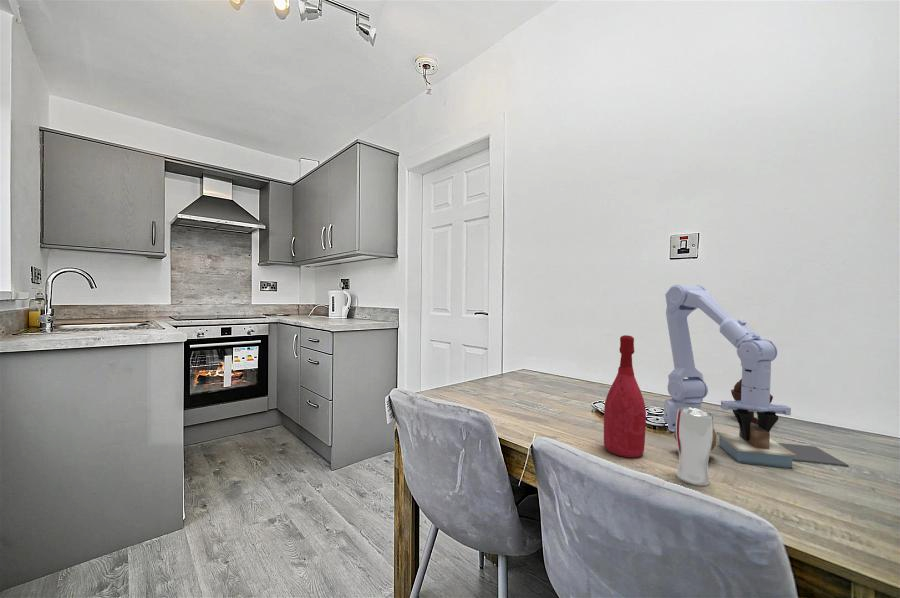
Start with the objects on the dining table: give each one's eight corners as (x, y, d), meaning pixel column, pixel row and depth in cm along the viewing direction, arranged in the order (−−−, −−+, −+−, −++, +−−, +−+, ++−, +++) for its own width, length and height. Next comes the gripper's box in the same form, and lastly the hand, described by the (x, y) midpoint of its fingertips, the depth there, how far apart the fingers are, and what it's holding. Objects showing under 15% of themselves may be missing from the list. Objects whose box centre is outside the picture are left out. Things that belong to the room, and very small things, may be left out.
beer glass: (667, 472, 88) (669, 406, 88) (696, 471, 88) (698, 406, 88) (688, 487, 81) (691, 416, 81) (719, 487, 81) (722, 416, 81)
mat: (780, 459, 97) (780, 457, 97) (755, 441, 108) (755, 440, 108) (848, 466, 93) (848, 465, 93) (815, 448, 105) (815, 446, 105)
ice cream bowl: (780, 428, 120) (781, 380, 120) (739, 425, 123) (741, 378, 123) (760, 418, 131) (761, 374, 131) (723, 415, 133) (724, 372, 133)
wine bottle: (627, 462, 93) (631, 338, 92) (594, 447, 101) (598, 333, 101) (653, 455, 97) (657, 337, 97) (620, 441, 106) (623, 333, 106)
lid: (737, 450, 94) (738, 432, 94) (716, 433, 105) (717, 417, 105) (796, 457, 91) (796, 438, 91) (767, 438, 102) (768, 422, 102)
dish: (738, 462, 94) (739, 450, 94) (719, 445, 105) (719, 434, 105) (791, 468, 92) (792, 455, 91) (766, 450, 102) (766, 439, 102)
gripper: (730, 388, 96) (728, 442, 96) (799, 393, 92) (797, 449, 92) (718, 382, 103) (716, 432, 103) (782, 386, 99) (780, 438, 99)
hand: (753, 439), depth 98 cm, fingers closed on lid, 3 cm apart
